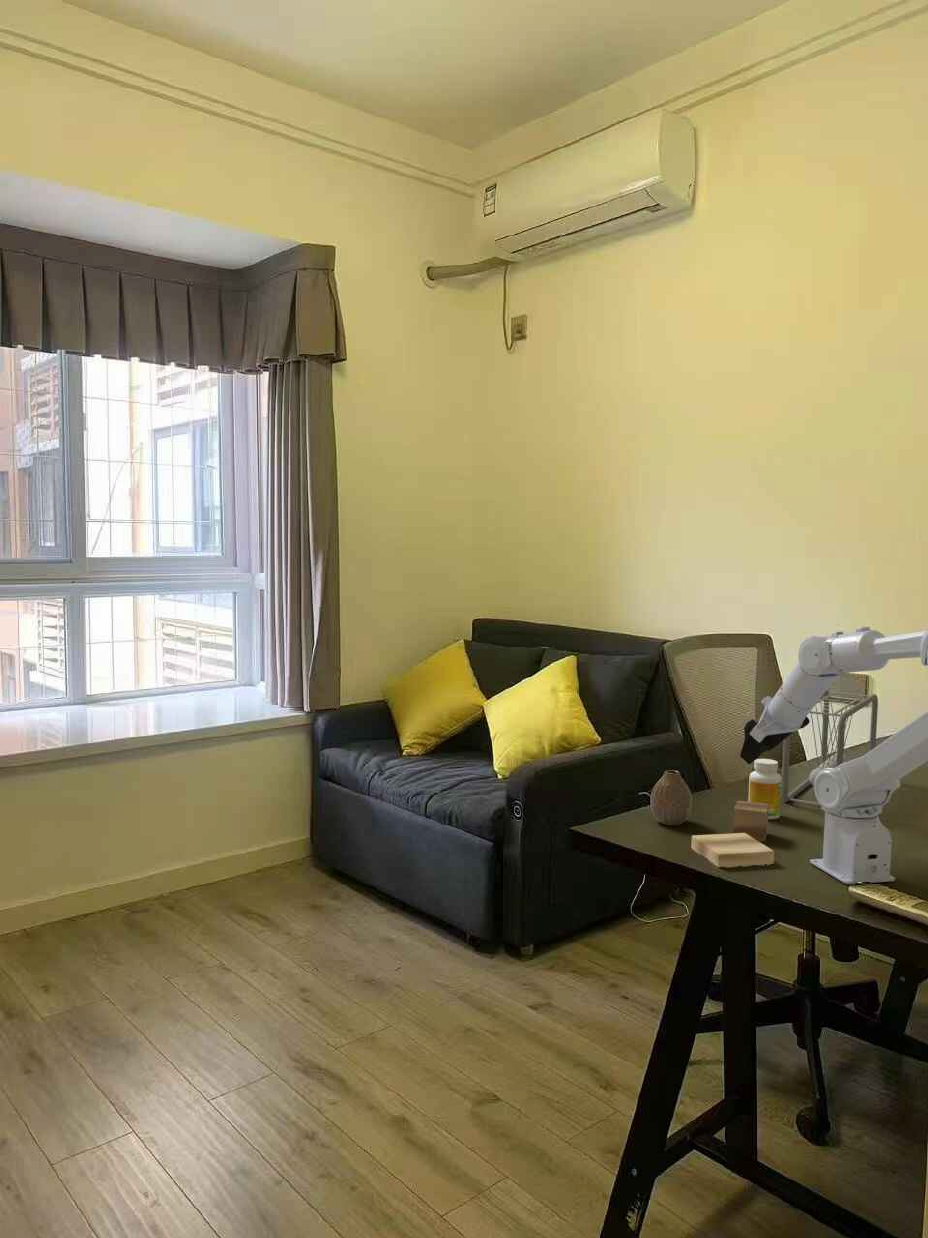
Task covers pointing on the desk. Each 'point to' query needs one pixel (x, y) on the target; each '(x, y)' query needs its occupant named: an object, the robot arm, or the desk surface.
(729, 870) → the desk surface
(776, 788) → the supplement bottle
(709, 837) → the oak block
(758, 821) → the walnut cube
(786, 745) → the newton's cradle
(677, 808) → the vase
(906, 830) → the desk surface
